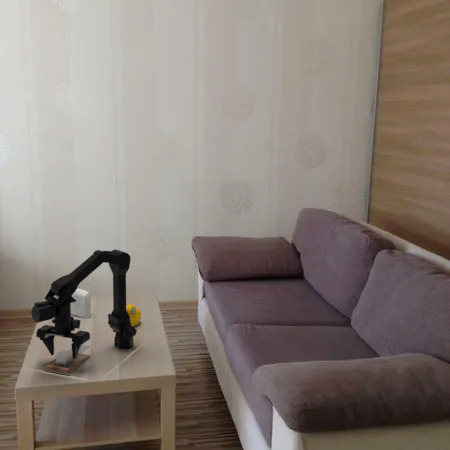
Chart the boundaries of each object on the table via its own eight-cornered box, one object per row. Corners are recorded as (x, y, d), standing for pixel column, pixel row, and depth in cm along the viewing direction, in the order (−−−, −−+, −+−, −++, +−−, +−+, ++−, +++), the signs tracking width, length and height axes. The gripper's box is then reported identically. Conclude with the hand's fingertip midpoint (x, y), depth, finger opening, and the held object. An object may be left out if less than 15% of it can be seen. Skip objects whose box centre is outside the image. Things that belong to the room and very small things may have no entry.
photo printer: (92, 316, 258) (91, 290, 255) (85, 319, 254) (85, 292, 252) (75, 311, 263) (74, 285, 260) (68, 314, 259) (67, 288, 256)
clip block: (72, 367, 208) (71, 351, 206) (65, 372, 204) (65, 356, 203) (62, 365, 209) (62, 350, 208) (56, 370, 205) (55, 354, 204)
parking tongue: (90, 348, 224) (90, 346, 223) (79, 356, 216) (79, 354, 216) (77, 346, 225) (77, 344, 225) (65, 354, 218) (65, 351, 218)
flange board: (90, 360, 214) (89, 354, 213) (69, 376, 201) (69, 370, 200) (66, 355, 217) (66, 350, 216) (44, 371, 204) (44, 365, 203)
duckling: (127, 331, 241) (127, 309, 239) (117, 329, 244) (117, 306, 242) (144, 323, 251) (144, 301, 249) (134, 321, 254) (134, 299, 252)
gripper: (97, 311, 207) (98, 352, 210) (52, 305, 212) (54, 344, 216) (81, 322, 197) (82, 364, 200) (34, 314, 202) (36, 356, 205)
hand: (63, 356), depth 205 cm, fingers open, 9 cm apart
